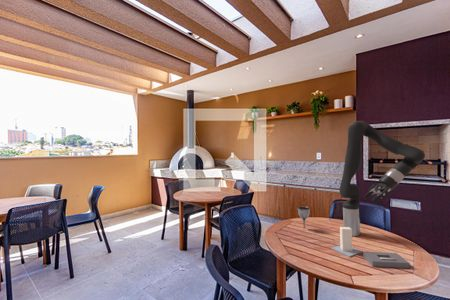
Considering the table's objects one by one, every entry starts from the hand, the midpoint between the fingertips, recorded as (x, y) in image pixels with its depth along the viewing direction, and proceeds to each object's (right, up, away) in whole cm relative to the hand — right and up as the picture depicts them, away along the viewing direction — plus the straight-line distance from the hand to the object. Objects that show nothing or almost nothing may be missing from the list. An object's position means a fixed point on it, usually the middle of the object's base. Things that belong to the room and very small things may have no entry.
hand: (369, 199), depth 120 cm
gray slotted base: (+1, -29, -11) cm, 31 cm away
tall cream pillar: (-11, -28, +2) cm, 31 cm away
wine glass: (-22, -30, +37) cm, 52 cm away
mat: (-11, -29, +2) cm, 31 cm away
